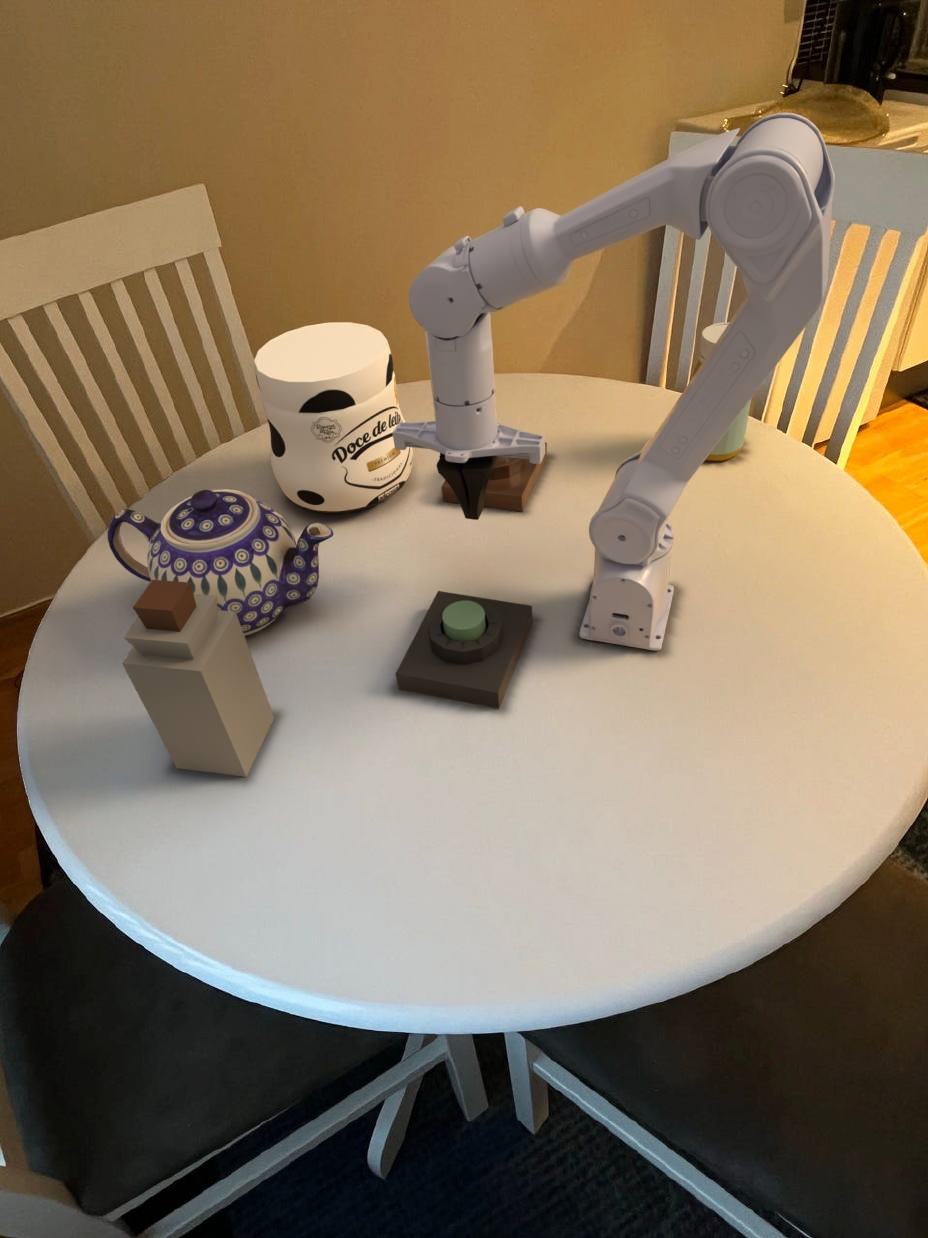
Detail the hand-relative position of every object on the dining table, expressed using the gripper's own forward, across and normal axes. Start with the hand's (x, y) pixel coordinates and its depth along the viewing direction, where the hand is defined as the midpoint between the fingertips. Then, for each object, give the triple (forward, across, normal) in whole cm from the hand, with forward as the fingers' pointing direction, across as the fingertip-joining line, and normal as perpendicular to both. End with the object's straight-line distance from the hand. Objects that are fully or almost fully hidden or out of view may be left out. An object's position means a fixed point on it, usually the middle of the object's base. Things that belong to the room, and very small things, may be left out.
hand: (474, 513), depth 84 cm
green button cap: (+5, +2, -11) cm, 13 cm away
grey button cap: (+5, -3, +19) cm, 20 cm away
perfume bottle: (+9, -16, -27) cm, 33 cm away
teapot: (+9, -24, -10) cm, 27 cm away
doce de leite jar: (+9, -22, +14) cm, 27 cm away
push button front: (+8, +2, -12) cm, 14 cm away
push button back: (+8, -3, +19) cm, 21 cm away
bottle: (+9, +22, +30) cm, 38 cm away
